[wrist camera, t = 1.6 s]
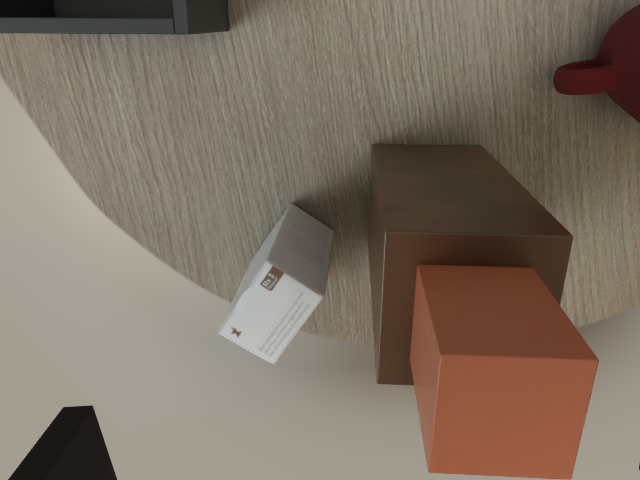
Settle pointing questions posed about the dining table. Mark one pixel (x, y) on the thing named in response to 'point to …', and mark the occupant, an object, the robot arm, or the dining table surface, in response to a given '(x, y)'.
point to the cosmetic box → (280, 286)
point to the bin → (114, 16)
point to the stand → (447, 233)
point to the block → (497, 373)
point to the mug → (609, 67)
